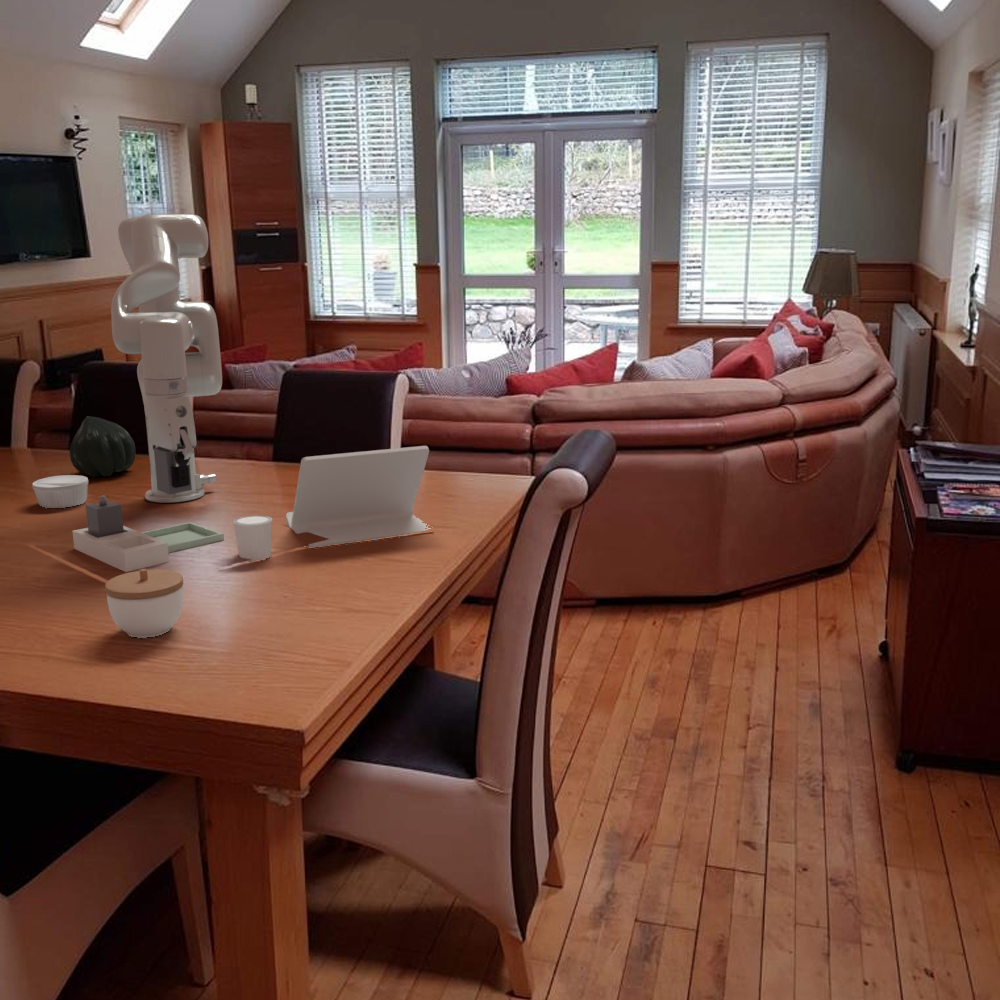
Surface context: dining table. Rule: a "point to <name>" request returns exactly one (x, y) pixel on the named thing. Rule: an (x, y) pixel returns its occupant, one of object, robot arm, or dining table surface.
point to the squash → (101, 448)
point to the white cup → (254, 537)
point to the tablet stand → (359, 495)
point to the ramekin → (61, 491)
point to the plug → (167, 471)
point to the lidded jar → (145, 601)
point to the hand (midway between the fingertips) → (174, 482)
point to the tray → (185, 536)
